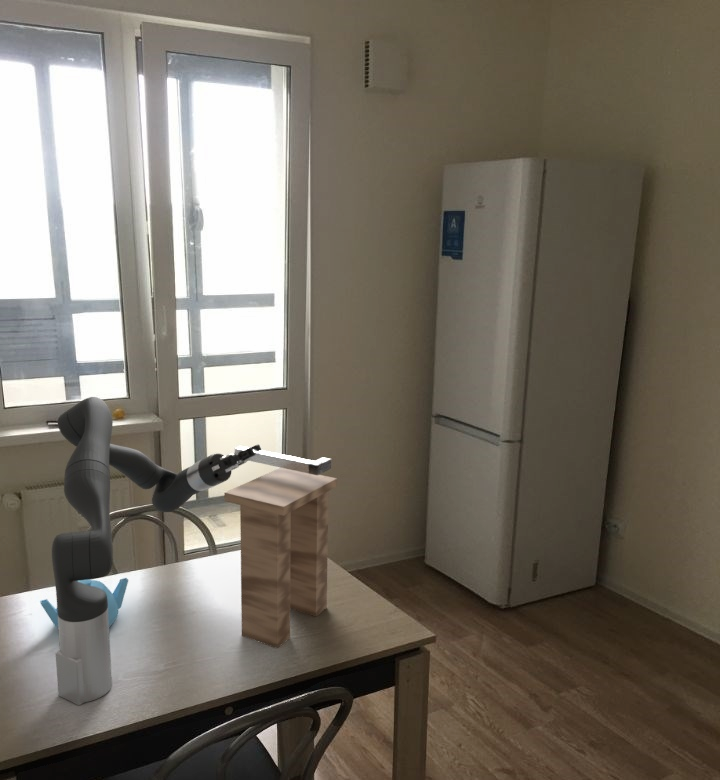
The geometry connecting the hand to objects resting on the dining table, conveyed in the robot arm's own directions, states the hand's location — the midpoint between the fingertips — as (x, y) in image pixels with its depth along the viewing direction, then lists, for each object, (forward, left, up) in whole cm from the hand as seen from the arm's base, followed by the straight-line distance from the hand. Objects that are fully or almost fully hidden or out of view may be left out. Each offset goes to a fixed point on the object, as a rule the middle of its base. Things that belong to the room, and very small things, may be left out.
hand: (255, 449), depth 171 cm
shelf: (-5, -11, -39) cm, 41 cm away
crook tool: (+2, -6, -3) cm, 7 cm away
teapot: (-30, +27, -40) cm, 56 cm away
